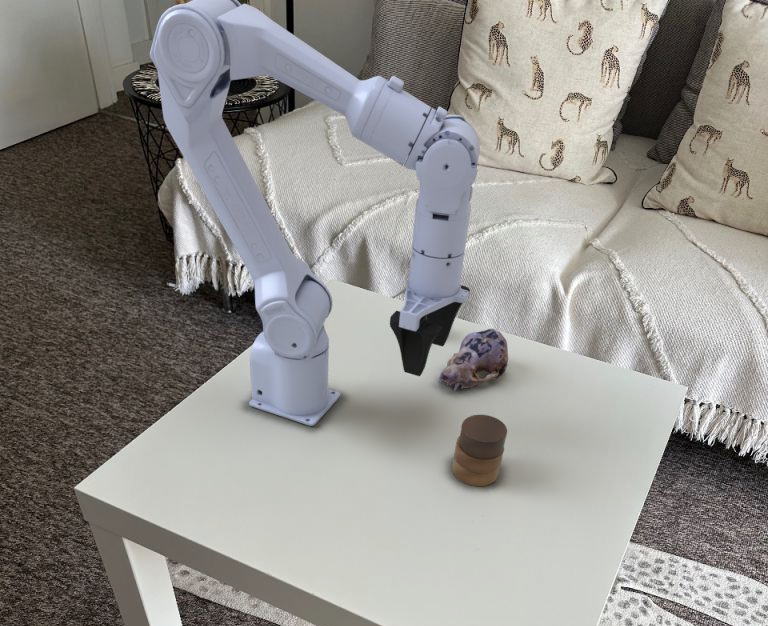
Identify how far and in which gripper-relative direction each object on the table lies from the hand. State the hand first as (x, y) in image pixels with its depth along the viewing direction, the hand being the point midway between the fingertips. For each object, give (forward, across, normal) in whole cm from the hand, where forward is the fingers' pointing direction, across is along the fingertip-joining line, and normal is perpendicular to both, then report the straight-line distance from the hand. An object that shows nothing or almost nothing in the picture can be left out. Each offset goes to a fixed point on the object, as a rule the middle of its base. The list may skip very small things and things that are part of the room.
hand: (424, 357), depth 85 cm
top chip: (+7, -6, -10) cm, 14 cm away
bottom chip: (+9, -6, -10) cm, 15 cm away
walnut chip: (+5, -6, -10) cm, 13 cm away
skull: (+10, +14, -2) cm, 17 cm away
